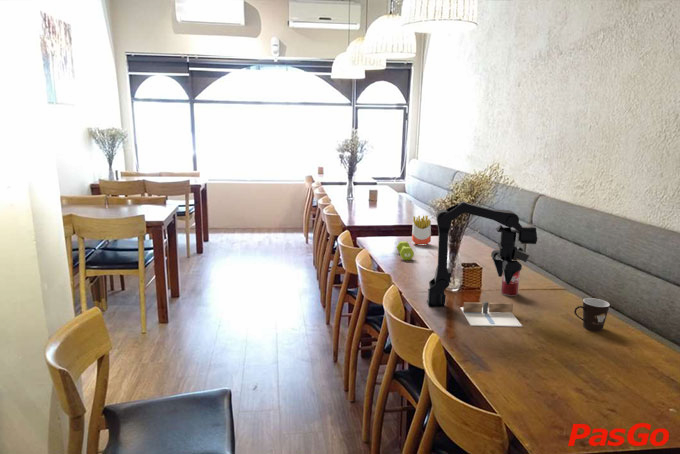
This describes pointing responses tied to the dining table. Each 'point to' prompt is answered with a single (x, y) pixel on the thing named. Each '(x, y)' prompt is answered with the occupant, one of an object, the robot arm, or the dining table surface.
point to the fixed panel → (475, 307)
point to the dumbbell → (405, 250)
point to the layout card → (491, 319)
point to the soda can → (510, 285)
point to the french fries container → (421, 230)
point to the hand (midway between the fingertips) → (503, 280)
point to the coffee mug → (594, 313)
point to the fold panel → (500, 307)
